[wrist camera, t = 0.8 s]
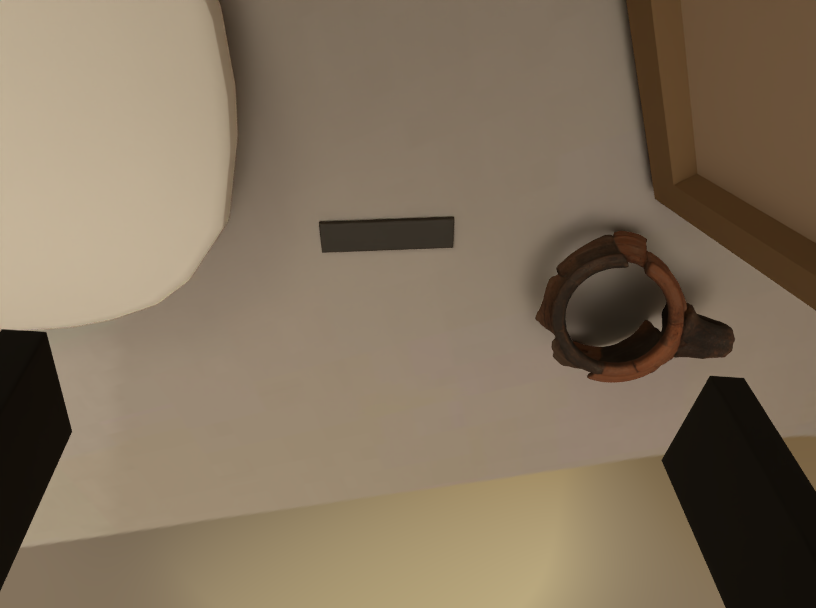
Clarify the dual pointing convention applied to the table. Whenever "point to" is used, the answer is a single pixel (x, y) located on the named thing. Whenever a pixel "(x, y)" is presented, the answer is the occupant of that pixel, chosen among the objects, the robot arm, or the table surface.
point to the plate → (110, 154)
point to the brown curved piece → (647, 344)
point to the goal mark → (387, 234)
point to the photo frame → (735, 125)
